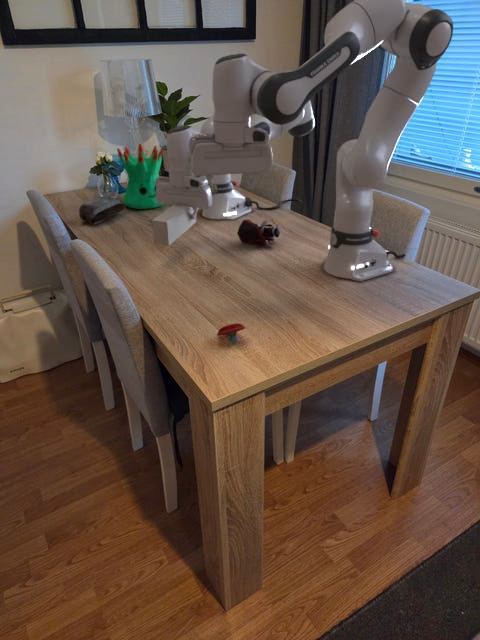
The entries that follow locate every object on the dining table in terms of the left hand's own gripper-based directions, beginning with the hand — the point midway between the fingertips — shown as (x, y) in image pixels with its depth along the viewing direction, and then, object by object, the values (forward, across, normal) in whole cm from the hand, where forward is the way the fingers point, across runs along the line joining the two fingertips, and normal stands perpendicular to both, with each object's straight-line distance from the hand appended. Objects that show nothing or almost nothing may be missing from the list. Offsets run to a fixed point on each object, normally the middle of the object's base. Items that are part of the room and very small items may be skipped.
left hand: (184, 217), depth 157 cm
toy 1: (+10, -38, +38) cm, 55 cm away
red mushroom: (+10, +36, -53) cm, 65 cm away
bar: (+3, 0, -8) cm, 8 cm away
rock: (+10, -44, +14) cm, 47 cm away
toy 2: (+10, +25, +8) cm, 28 cm away
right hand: (-20, +29, -32) cm, 48 cm away
